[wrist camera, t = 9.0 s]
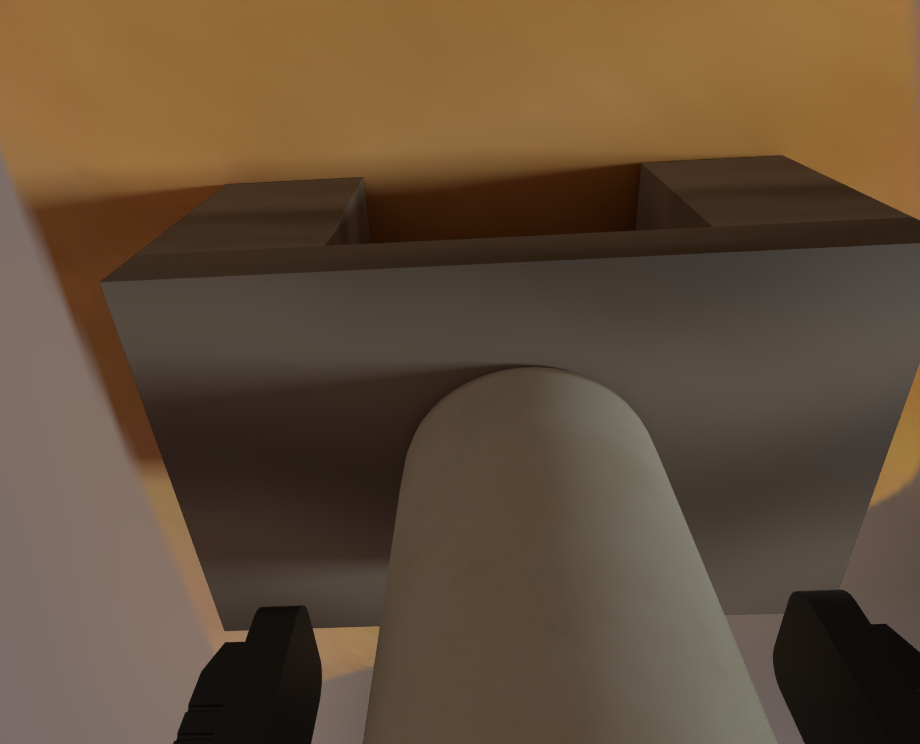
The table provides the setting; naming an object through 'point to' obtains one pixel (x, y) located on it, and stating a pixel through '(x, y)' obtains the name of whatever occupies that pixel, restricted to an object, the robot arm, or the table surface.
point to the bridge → (518, 346)
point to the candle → (549, 583)
